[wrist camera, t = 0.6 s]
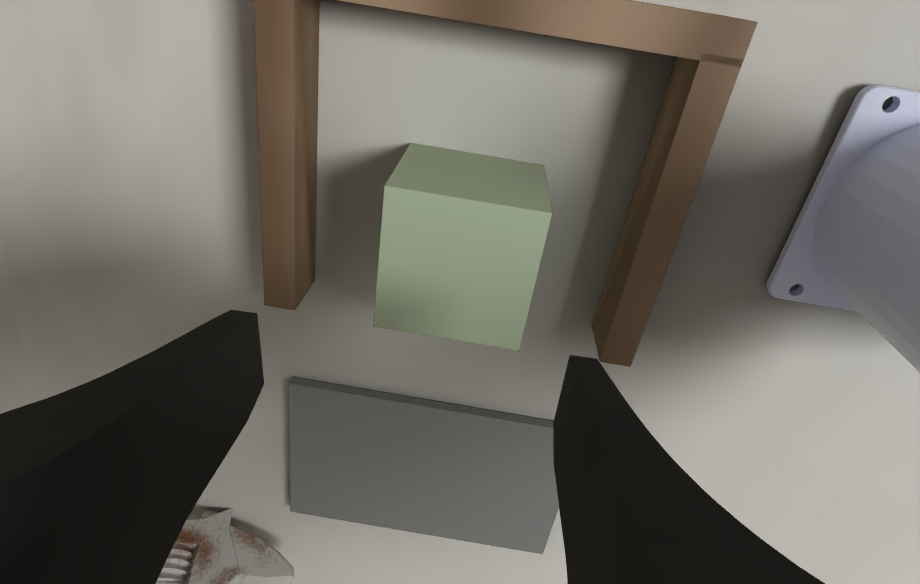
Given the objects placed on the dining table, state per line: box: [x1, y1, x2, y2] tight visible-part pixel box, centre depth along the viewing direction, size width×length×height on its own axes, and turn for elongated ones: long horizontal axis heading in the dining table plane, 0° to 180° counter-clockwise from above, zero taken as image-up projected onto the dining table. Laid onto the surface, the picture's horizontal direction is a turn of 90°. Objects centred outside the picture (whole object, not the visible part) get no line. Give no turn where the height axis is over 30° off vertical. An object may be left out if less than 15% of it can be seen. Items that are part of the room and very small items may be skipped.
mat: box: [289, 377, 559, 554], centre depth 29 cm, size 14×9×1 cm, turn 82°
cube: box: [373, 143, 552, 350], centre depth 20 cm, size 5×5×5 cm
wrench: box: [156, 508, 294, 584], centre depth 29 cm, size 8×2×30 cm
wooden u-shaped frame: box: [254, 0, 757, 367], centre depth 20 cm, size 14×12×2 cm
